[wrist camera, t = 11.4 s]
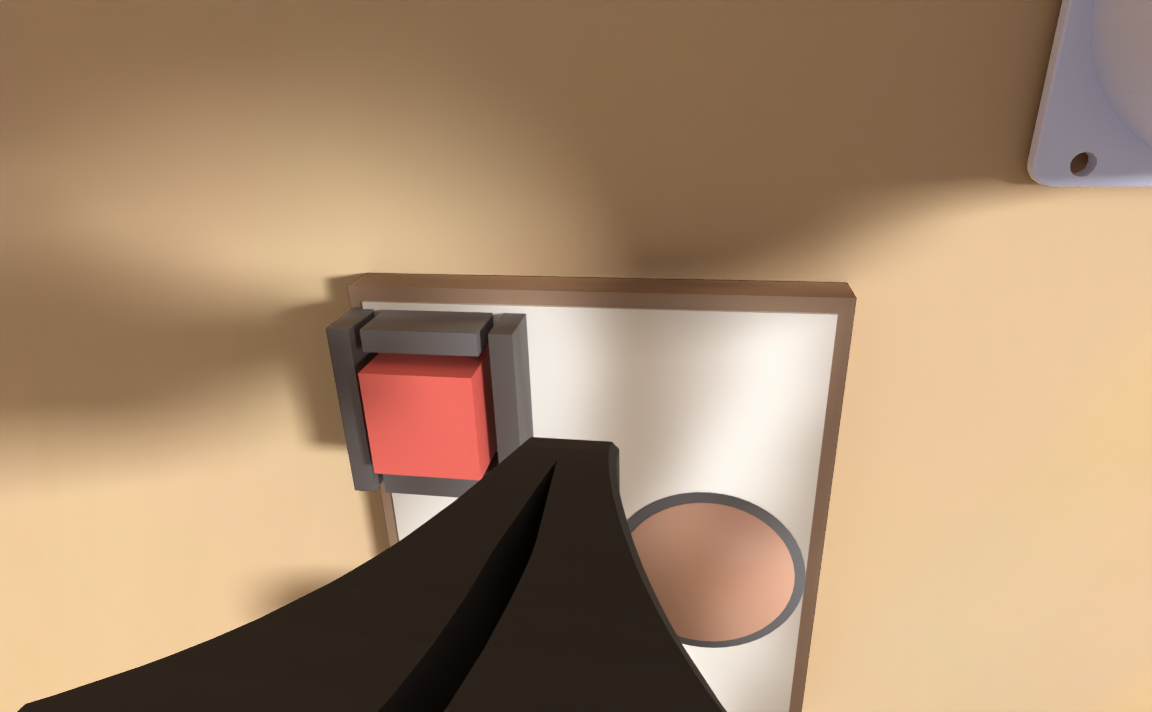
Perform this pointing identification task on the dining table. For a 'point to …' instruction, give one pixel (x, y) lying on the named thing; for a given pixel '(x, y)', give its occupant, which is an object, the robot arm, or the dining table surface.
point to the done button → (430, 414)
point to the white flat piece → (650, 433)
